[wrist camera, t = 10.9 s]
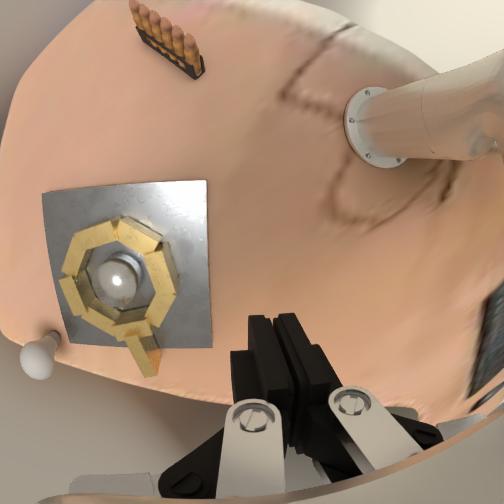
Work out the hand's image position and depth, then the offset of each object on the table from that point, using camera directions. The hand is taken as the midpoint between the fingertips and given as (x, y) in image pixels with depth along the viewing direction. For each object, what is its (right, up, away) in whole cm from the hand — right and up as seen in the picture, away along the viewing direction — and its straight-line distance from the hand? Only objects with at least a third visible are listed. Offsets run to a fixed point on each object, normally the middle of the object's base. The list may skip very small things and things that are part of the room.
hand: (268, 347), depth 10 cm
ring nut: (-18, -2, +27) cm, 32 cm away
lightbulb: (-35, -11, +30) cm, 47 cm away
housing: (-19, +1, +28) cm, 33 cm away
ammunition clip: (-11, +30, +21) cm, 38 cm away
